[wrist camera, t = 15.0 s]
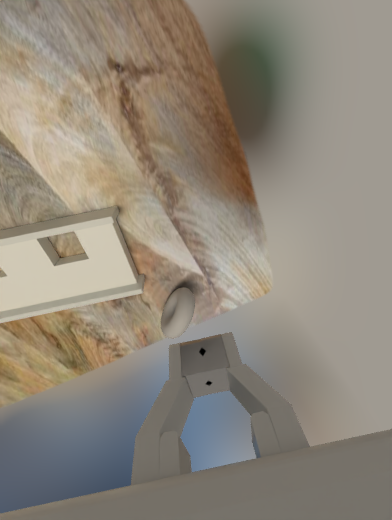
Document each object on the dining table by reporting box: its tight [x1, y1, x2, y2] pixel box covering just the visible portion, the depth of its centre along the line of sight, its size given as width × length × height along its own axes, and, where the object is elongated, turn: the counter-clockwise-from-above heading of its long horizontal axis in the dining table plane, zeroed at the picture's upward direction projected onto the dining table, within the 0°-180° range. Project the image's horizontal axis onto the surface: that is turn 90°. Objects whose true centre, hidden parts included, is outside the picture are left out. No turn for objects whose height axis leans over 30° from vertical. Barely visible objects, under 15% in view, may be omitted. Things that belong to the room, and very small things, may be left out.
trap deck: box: [0, 206, 145, 323], centre depth 37 cm, size 15×38×4 cm, turn 100°
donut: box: [161, 287, 195, 339], centre depth 43 cm, size 10×4×10 cm, turn 148°
